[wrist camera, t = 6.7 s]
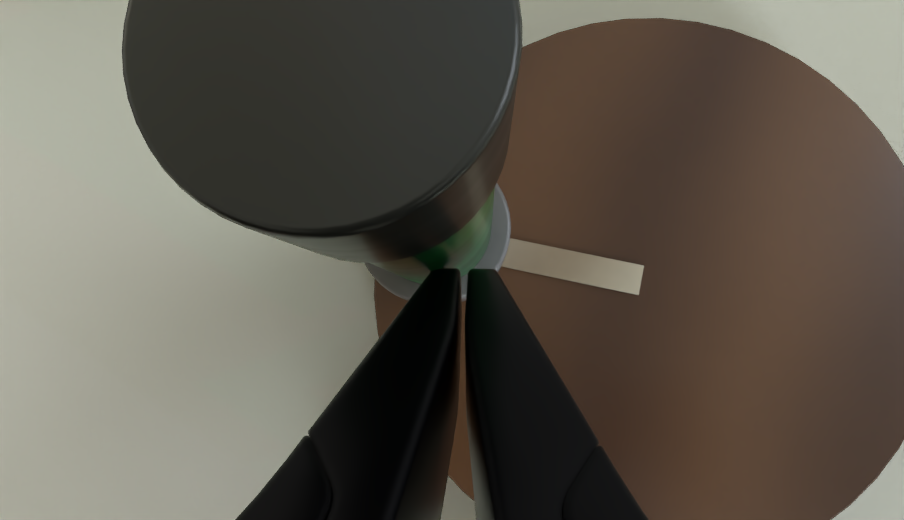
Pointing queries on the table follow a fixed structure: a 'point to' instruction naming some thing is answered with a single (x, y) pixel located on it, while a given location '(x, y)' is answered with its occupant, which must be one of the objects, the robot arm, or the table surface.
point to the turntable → (576, 216)
